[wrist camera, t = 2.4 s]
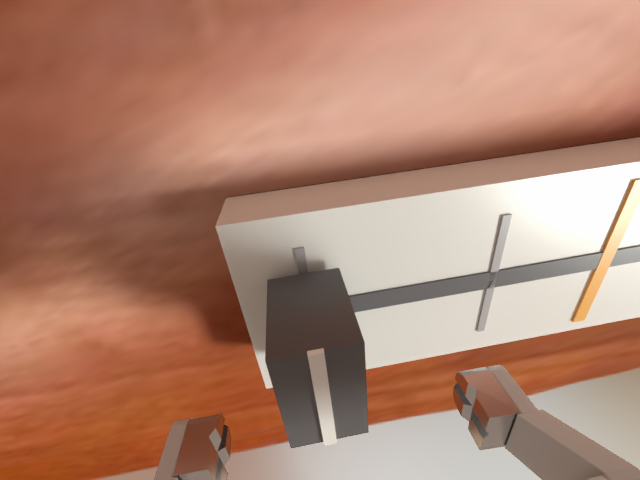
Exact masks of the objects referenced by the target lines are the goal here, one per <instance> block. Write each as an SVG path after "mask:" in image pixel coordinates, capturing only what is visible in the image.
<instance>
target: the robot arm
mask: <svg viewBox="0 0 640 480" xmlns="http://www.w3.org/2000/svg"><path fill="white" fill-rule="evenodd" d="M455 379H456V381H457V384H456V385H455V386H454V389H453V396H454V401H455V404H456V406H457V409H458V410H459V412H460V414H461V416H462V417H464V418H465V419H467V420H468V421H469V431H470V433H471V435H472V436H473V439H474V440H475V442H476V444H477V446H478V448H479V449H480V450H484V449H490V448H497V447H503V446H506V447H505V448H506V449H507V450H508V451H509V452H511V453H512V454H513V455H514V456H515V457H516V458H518V459H519V460H520V461H521V462H522V463H523V464H525V465H526V466H527V467H528V468H529V469H530V470H532V471H533V472H534V473H535V474H536V475H537V476H539V477H540V478H541V479H542V480H640V470H639V469H638V468H637V467H635V466H633V465H632V464H630V463H628V462H627V461H625V460H624V459H622V458H620V457H619V456H617V455H616V454H614V453H612V452H611V451H609V450H607V449H605V448H604V447H602V446H601V445H599V444H598V443H596V442H594V441H593V440H591V439H589V438H588V437H586V436H584V435H583V434H581V433H580V432H578V431H576V430H575V429H573V428H572V427H570V426H568V425H567V424H565V423H563V422H562V421H560V420H558V419H557V418H555V417H554V416H552V415H550V414H549V413H547V412H546V411H544V410H537V408H536V407H535V406H534V405H533V403H532V402H531V401H530V399H529V398H528V397H527V396H526V394H525V393H524V392H523V390H522V389H521V388H520V387H519V385H518V384H517V383H516V382H515V380H514V379H513V378H512V376H511V375H510V374H509V373H508V371H507V370H506V369H505V368H504V367H503V366H501V365H495V366H489V367H482V368H477V369H472V370H467V371H462V372H458V373H457V374H456V378H455ZM224 420H225V419H224V417H223V415H222V414H216V415H211V416H205V417H199V418H193V419H186V420H180V421H175V422H174V423H173V425H172V426H171V428H170V431H169V434H168V437H167V441H166V444H165V447H164V450H163V453H162V456H161V459H160V462H159V466H158V469H157V472H156V475H155V478H154V480H227V476H228V473H227V471H226V469H225V467H224V466H225V464H226V463H227V461H228V460H229V458H230V453H231V434H230V430H229V428H228V426H226V425H224Z"/></svg>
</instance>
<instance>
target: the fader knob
mask: <svg viewBox="0 0 640 480" xmlns="http://www.w3.org/2000/svg"><path fill="white" fill-rule="evenodd" d="M265 362H266V365H267V369H268V372H269V376H270V379H271V382H272V386H273V389H274V392H275V396H276V399H277V403H278V406H279V409H280V413H281V416H282V420H283V423H284V426H285V430H286V433H287V436H288V440H289V443H290V446H291V448H295V447H300V446H305V445H309V444H314V443H319V442H324V446H326V445H331V444H336V443H337V439H338V438H343V437H347V436H353V435H358V434H362V433H367V432H368V410H367V386H366V362H365V342H364V339H363V336H362V333H361V330H360V327H359V324H358V321H357V319H356V316H355V313H354V310H353V307H352V304H351V301H350V298H349V295H348V292H347V289H346V286H345V284H344V281H343V278H342V275H341V272H340V269H339V268H334V269H328V270H322V271H316V272H310V273H304V274H298V275H292V276H286V277H280V278H274V279H268V280H267V311H266V349H265Z"/></svg>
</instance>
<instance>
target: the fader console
mask: <svg viewBox="0 0 640 480" xmlns="http://www.w3.org/2000/svg"><path fill="white" fill-rule="evenodd" d="M215 227H216V230H217V234H218V237H219V240H220V243H221V246H222V249H223V253H224V256H225V259H226V262H227V265H228V268H229V272H230V275H231V278H232V281H233V284H234V288H235V291H236V294H237V297H238V300H239V303H240V307H241V310H242V313H243V316H244V319H245V322H246V326H247V329H248V332H249V335H250V338H251V342H252V345H253V348H254V351H255V354H256V357H257V361H258V364H259V367H260V370H261V373H262V376H263V380H264V383H265V386H266V389H267V388H273V386H272V382H271V379H270V376H269V372H268V369H267V365H266V362H265V349H266V311H267V280H268V279H274V278H280V277H286V276H292V275H298V274H304V273H310V272H316V271H322V270H328V269H334V268H339V269H340V272H341V275H342V278H343V281H344V284H345V286H346V289H347V292H348V295H349V298H350V301H351V304H352V307H353V310H354V313H355V316H356V319H357V321H358V324H359V327H360V330H361V333H362V336H363V339H364V342H365V362H366V369H371V368H377V367H382V366H387V365H392V364H397V363H403V362H408V361H413V360H418V359H423V358H428V357H434V356H439V355H444V354H449V353H454V352H460V351H465V350H470V349H475V348H480V347H486V346H491V345H496V344H501V343H506V342H512V341H517V340H522V339H527V338H532V337H538V336H543V335H548V334H553V333H558V332H564V331H569V330H574V329H579V328H584V327H590V326H595V325H600V324H605V323H610V322H616V321H621V320H626V319H631V318H636V317H640V137H637V138H630V139H623V140H617V141H610V142H603V143H596V144H589V145H583V146H576V147H569V148H562V149H555V150H549V151H542V152H535V153H528V154H521V155H515V156H508V157H501V158H494V159H487V160H481V161H474V162H467V163H460V164H453V165H447V166H440V167H433V168H426V169H419V170H413V171H406V172H399V173H392V174H385V175H379V176H372V177H365V178H358V179H351V180H345V181H338V182H331V183H324V184H317V185H311V186H304V187H297V188H290V189H283V190H277V191H270V192H263V193H256V194H249V195H243V196H236V197H229V198H226V199H225V202H224V205H223V207H222V210H221V213H220V215H219V218H218V221H217V223H216V226H215Z"/></svg>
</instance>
